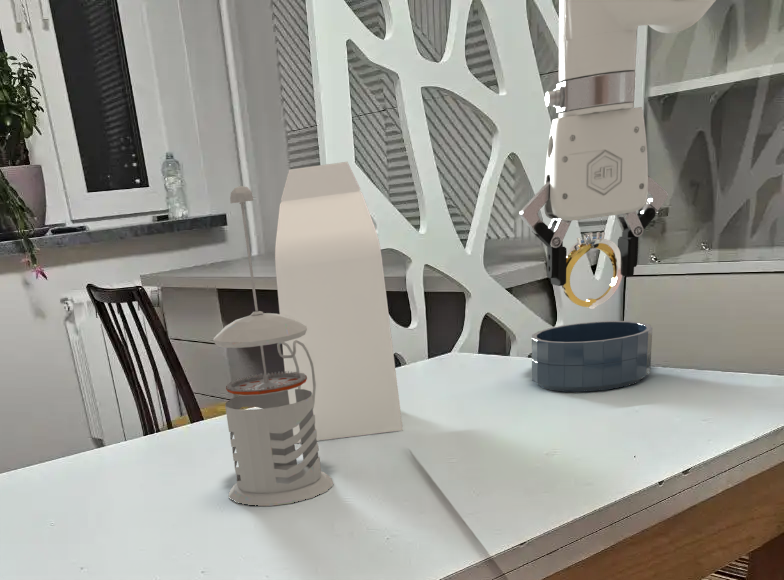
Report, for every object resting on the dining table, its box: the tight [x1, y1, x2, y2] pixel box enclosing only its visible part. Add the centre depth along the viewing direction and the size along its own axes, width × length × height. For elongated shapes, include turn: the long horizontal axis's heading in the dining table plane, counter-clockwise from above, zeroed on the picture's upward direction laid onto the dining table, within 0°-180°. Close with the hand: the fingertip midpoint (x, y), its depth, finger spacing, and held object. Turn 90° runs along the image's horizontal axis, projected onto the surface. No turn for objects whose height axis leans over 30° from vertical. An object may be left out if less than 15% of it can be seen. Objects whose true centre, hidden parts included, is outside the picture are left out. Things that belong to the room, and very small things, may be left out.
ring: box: [561, 231, 623, 310], centre depth 102 cm, size 7×3×8 cm, turn 96°
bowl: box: [531, 320, 653, 393], centre depth 106 cm, size 13×13×6 cm
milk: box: [274, 161, 404, 444], centre depth 96 cm, size 12×12×26 cm
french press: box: [212, 185, 334, 507], centre depth 78 cm, size 10×12×25 cm
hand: (591, 278), depth 102 cm, fingers closed on ring, 7 cm apart
